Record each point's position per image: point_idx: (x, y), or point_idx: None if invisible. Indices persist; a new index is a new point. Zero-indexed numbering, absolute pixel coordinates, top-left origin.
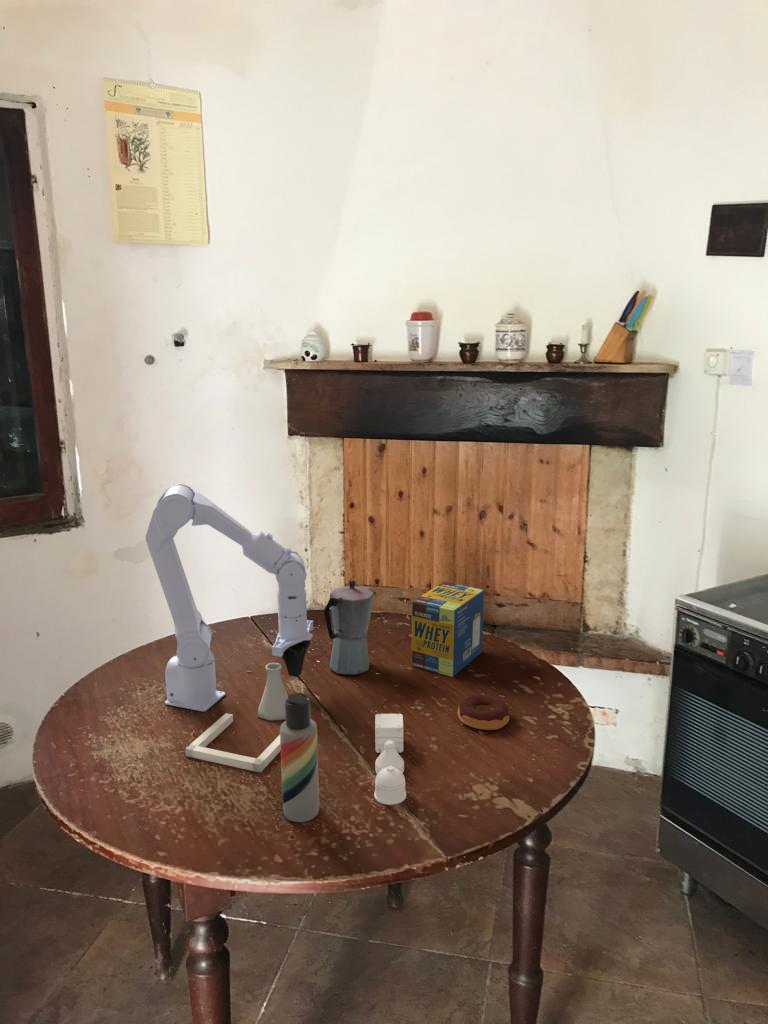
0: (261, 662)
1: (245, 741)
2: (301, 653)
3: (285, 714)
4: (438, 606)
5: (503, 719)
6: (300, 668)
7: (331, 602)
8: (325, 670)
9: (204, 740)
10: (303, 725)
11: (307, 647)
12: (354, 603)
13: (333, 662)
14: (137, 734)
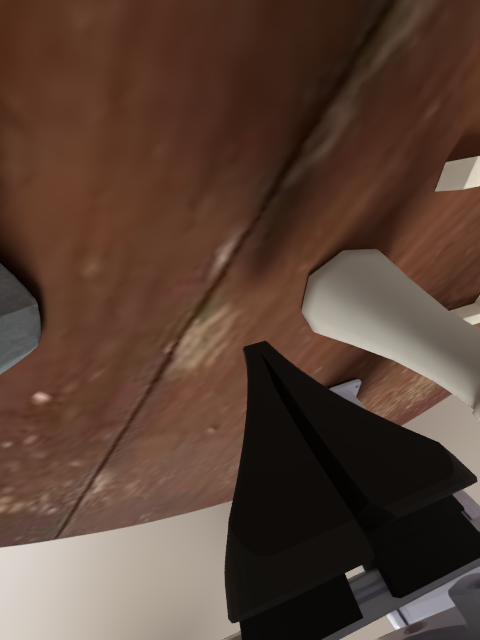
0: (169, 443)
1: (453, 263)
2: (358, 435)
3: (376, 253)
4: None
5: None
6: (267, 360)
7: None
8: (61, 348)
9: (474, 313)
10: None
11: (264, 483)
12: None
13: (6, 347)
14: (411, 385)
